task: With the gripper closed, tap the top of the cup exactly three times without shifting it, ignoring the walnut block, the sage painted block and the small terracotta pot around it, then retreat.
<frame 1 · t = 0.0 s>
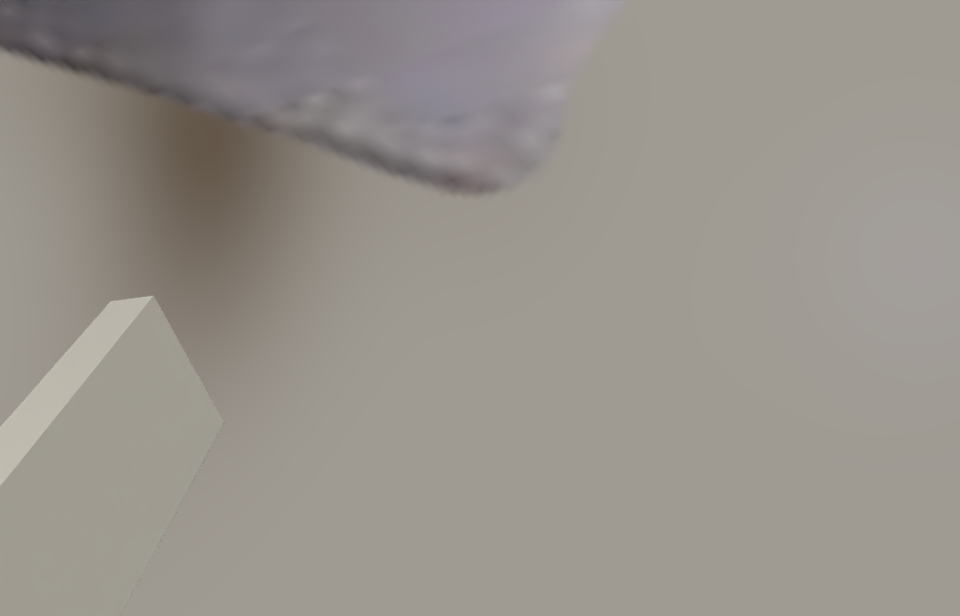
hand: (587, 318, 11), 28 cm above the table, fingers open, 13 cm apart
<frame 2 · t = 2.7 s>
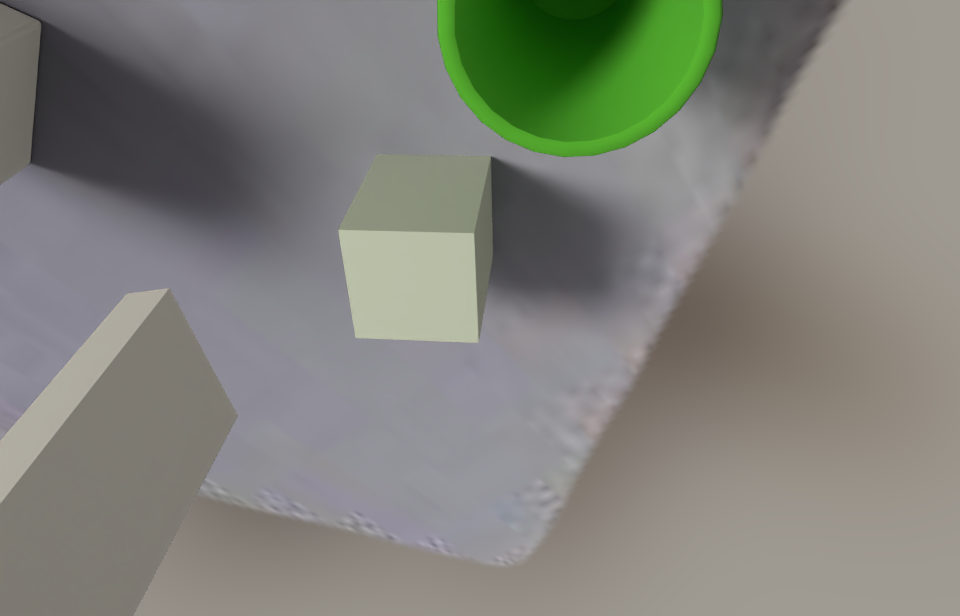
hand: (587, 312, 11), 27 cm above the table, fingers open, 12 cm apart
sage block: (437, 206, 41), on the table
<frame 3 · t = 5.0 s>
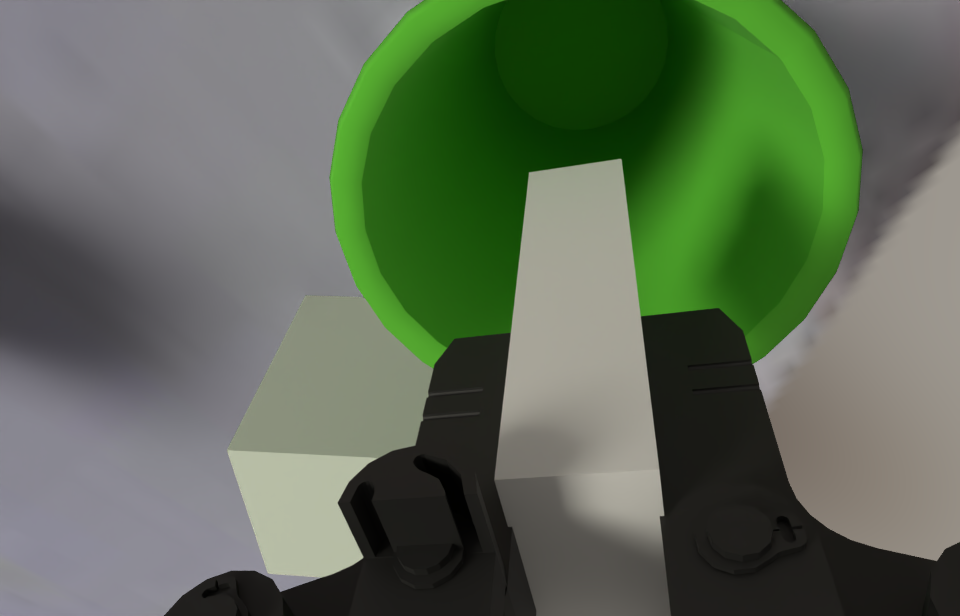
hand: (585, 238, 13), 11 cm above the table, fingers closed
cup: (579, 39, 22), on the table, touching gripper
sage block: (391, 358, 30), on the table
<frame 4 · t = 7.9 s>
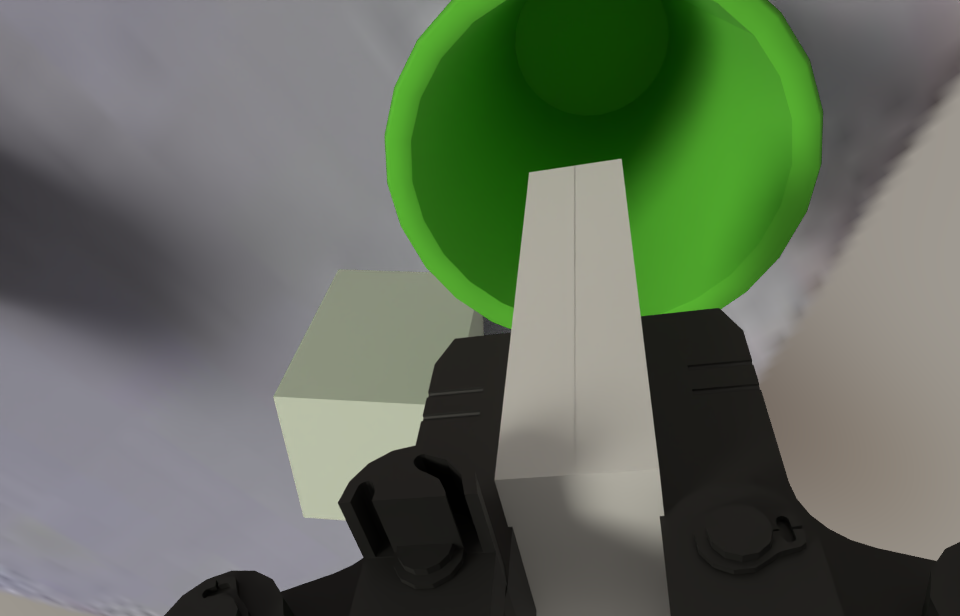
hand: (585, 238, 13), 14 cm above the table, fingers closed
cup: (590, 34, 25), on the table
sage block: (415, 330, 32), on the table
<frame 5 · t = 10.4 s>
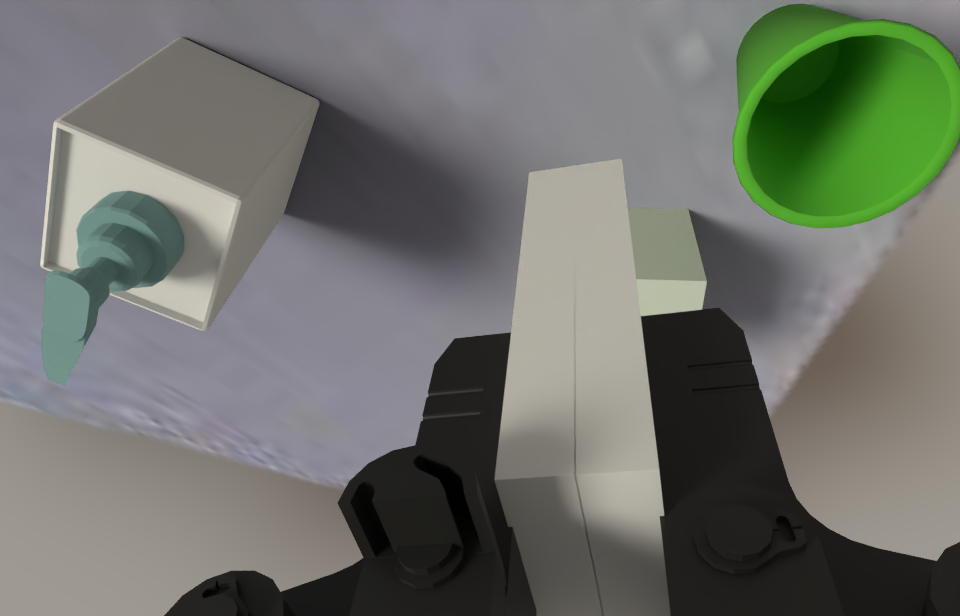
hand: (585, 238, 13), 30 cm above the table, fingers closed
cup: (785, 52, 40), on the table
sage block: (634, 249, 48), on the table
soap bottle: (236, 130, 46), on the table
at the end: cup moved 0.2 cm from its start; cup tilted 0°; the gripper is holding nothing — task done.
